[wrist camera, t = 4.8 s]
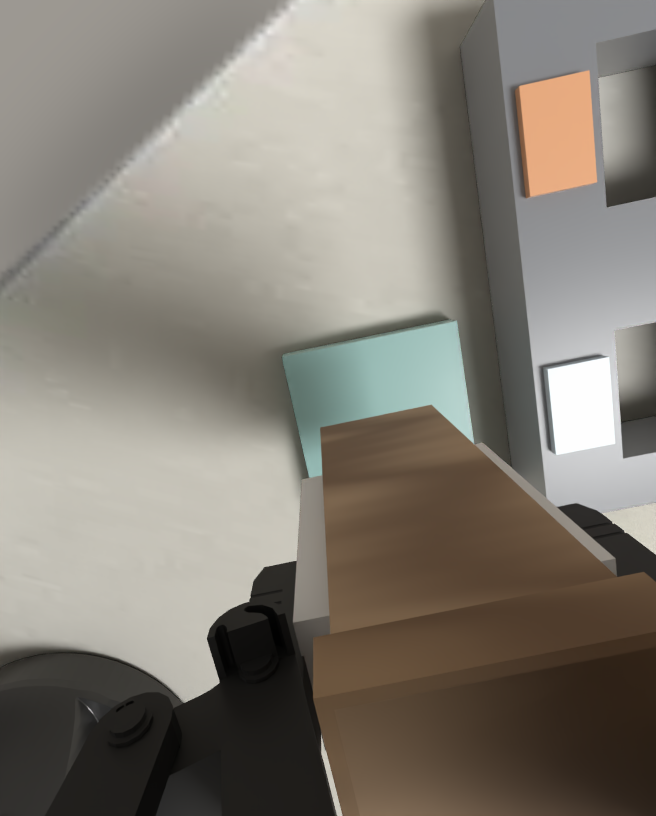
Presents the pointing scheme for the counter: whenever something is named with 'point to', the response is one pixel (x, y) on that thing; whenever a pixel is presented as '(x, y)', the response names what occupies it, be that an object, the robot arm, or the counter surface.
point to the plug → (473, 639)
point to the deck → (377, 381)
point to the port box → (562, 241)
